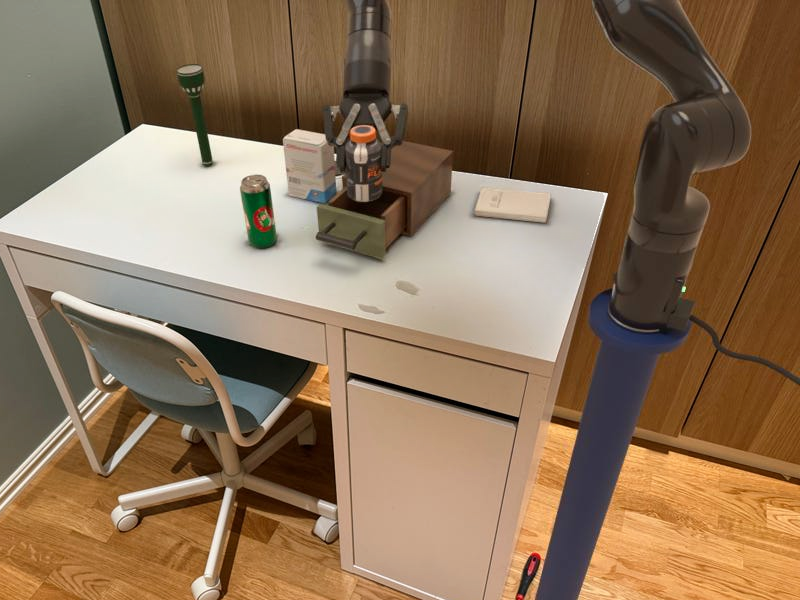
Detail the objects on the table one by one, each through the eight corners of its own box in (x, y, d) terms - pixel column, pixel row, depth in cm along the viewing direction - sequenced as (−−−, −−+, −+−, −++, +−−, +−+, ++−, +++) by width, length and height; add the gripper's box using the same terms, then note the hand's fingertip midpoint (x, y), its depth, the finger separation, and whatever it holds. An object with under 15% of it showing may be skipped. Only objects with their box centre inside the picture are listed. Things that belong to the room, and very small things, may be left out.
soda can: (252, 233, 129) (242, 173, 121) (279, 234, 128) (271, 173, 120) (246, 249, 125) (235, 188, 117) (274, 249, 124) (265, 188, 116)
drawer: (367, 274, 115) (366, 239, 111) (304, 255, 121) (300, 220, 116) (423, 214, 128) (424, 180, 123) (363, 199, 133) (362, 166, 128)
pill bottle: (373, 205, 116) (371, 140, 108) (340, 199, 118) (337, 134, 111) (388, 188, 120) (387, 124, 112) (357, 182, 122) (354, 119, 115)
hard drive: (545, 224, 124) (474, 216, 128) (550, 200, 130) (481, 193, 133) (547, 216, 123) (474, 208, 127) (551, 192, 129) (482, 186, 132)
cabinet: (410, 237, 124) (411, 193, 118) (344, 219, 130) (341, 176, 124) (450, 193, 134) (453, 150, 128) (387, 178, 140) (386, 137, 134)
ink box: (338, 192, 138) (334, 134, 130) (325, 204, 134) (321, 145, 127) (300, 183, 141) (295, 126, 133) (287, 195, 138) (280, 137, 130)
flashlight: (220, 157, 152) (203, 62, 139) (219, 169, 148) (202, 72, 135) (196, 160, 152) (177, 65, 139) (195, 171, 148) (175, 75, 135)
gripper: (413, 76, 117) (408, 177, 117) (326, 78, 120) (322, 177, 119) (411, 55, 110) (407, 163, 110) (320, 58, 112) (314, 163, 112)
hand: (362, 170), depth 114 cm, fingers closed on pill bottle, 6 cm apart
